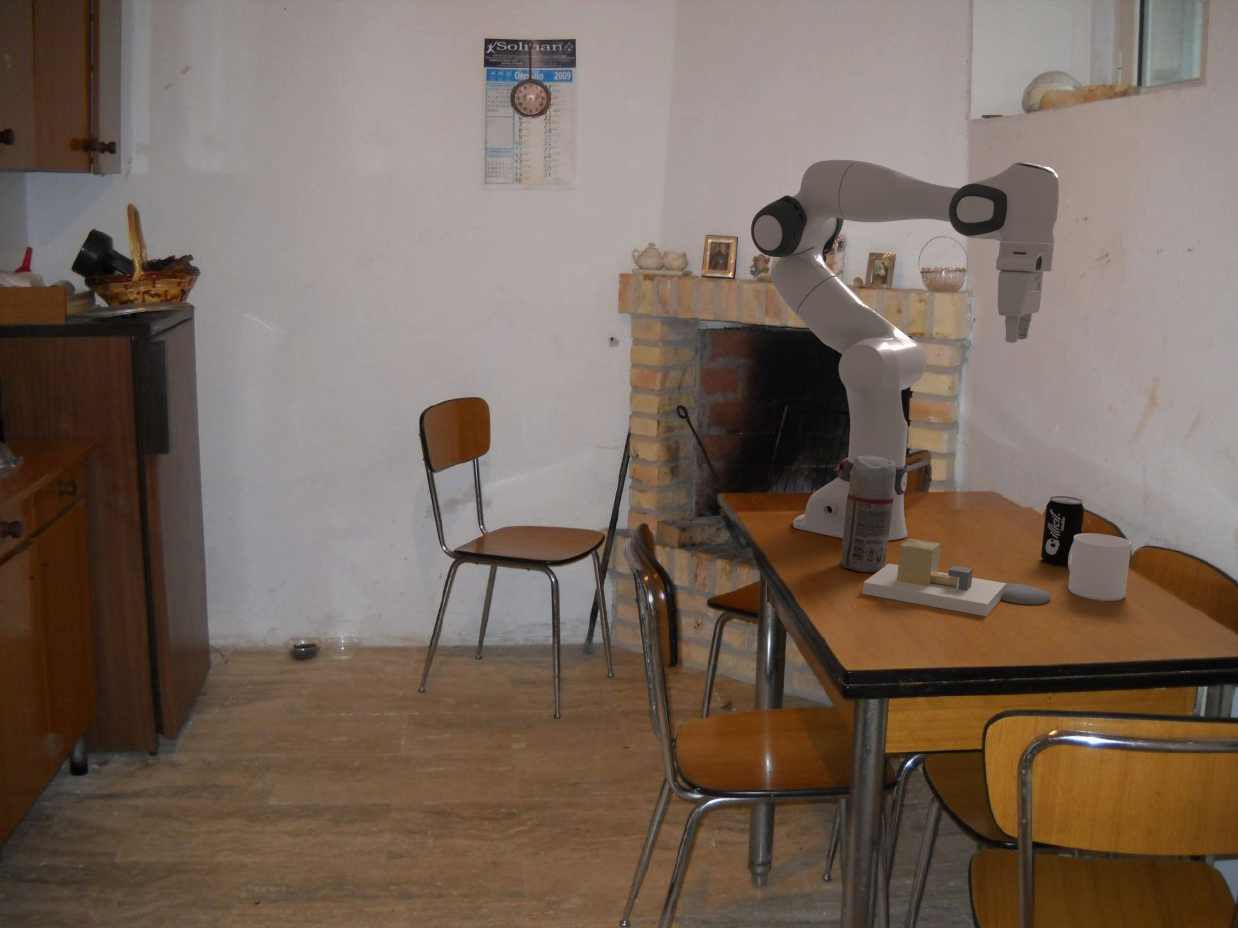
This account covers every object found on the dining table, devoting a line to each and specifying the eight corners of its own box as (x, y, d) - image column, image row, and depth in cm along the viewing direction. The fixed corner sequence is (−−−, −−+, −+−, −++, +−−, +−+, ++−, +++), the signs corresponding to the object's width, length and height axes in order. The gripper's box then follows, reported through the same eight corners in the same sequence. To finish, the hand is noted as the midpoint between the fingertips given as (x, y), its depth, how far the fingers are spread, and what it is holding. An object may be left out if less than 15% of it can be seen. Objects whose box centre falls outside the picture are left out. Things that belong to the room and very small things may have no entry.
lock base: (862, 593, 198) (866, 552, 197) (887, 574, 210) (891, 535, 209) (986, 616, 189) (990, 573, 187) (1005, 594, 201) (1009, 554, 199)
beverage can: (1080, 568, 219) (1088, 504, 217) (1043, 565, 220) (1050, 501, 218) (1074, 559, 225) (1082, 496, 223) (1038, 556, 227) (1045, 494, 224)
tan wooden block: (896, 580, 199) (900, 544, 198) (906, 573, 204) (909, 538, 203) (953, 590, 195) (956, 554, 194) (961, 582, 200) (964, 547, 198)
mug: (1135, 601, 200) (1142, 547, 198) (1084, 601, 199) (1090, 546, 197) (1099, 580, 212) (1105, 529, 210) (1050, 580, 211) (1056, 528, 209)
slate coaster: (981, 597, 199) (981, 593, 198) (994, 583, 207) (995, 579, 207) (1044, 608, 194) (1044, 604, 194) (1055, 593, 202) (1055, 590, 202)
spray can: (890, 564, 217) (899, 455, 213) (885, 576, 209) (894, 463, 205) (843, 558, 219) (851, 451, 215) (836, 570, 212) (844, 458, 208)
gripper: (1017, 259, 217) (1009, 336, 219) (994, 259, 199) (985, 342, 201) (1053, 261, 214) (1045, 338, 216) (1033, 261, 196) (1024, 346, 199)
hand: (1016, 340), depth 209 cm, fingers open, 8 cm apart
